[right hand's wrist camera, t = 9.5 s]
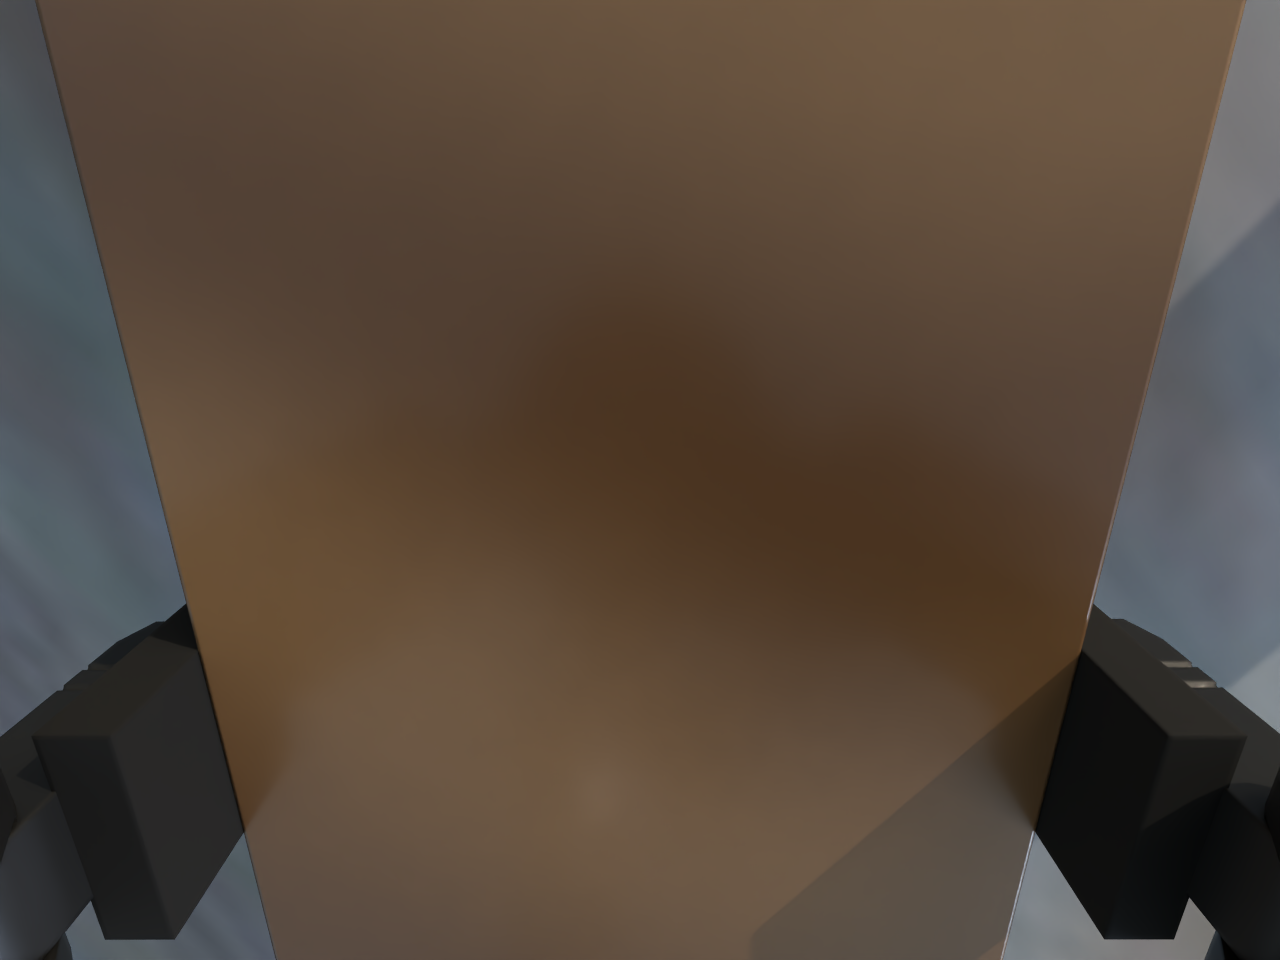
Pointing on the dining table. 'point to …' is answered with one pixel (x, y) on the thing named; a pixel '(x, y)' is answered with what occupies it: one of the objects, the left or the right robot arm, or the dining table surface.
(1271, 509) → the dining table surface
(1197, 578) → the dining table surface
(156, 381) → the cabinet
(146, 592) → the dining table surface
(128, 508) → the dining table surface
